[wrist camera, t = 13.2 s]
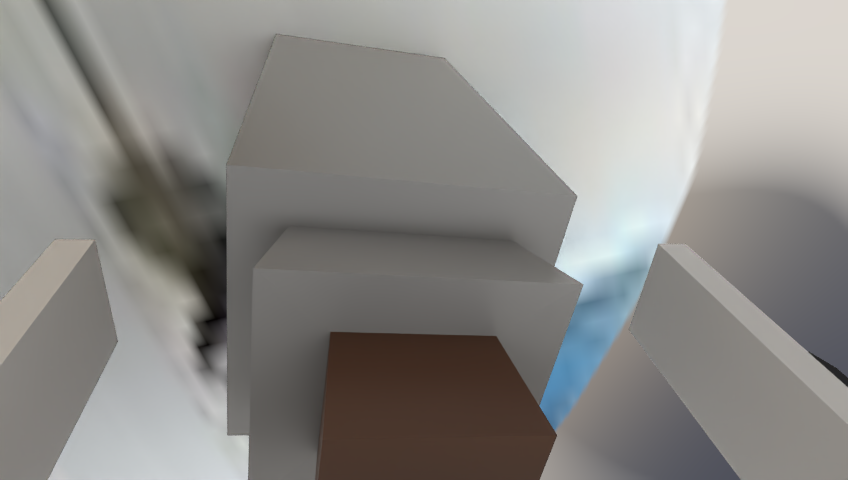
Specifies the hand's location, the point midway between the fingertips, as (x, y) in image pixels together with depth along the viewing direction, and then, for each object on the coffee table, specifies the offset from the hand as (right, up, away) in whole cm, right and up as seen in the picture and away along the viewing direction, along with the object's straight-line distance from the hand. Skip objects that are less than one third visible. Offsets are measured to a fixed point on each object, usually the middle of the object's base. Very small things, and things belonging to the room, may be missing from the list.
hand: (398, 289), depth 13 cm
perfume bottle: (-2, +6, +10) cm, 12 cm away
